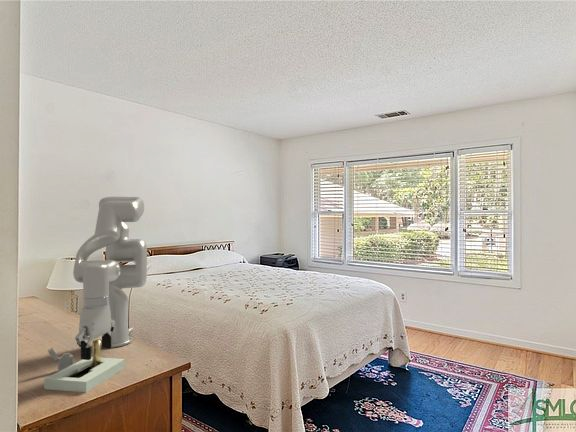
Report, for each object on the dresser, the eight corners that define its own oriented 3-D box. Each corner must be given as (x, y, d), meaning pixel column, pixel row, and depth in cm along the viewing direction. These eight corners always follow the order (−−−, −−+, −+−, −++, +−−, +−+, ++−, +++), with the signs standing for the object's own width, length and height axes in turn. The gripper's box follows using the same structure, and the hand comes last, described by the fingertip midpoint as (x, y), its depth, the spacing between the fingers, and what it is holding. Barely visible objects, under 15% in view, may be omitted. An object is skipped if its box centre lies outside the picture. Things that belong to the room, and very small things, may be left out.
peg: (95, 369, 122) (95, 338, 122) (106, 370, 121) (107, 338, 121) (85, 375, 117) (85, 342, 118) (97, 375, 117) (97, 343, 117)
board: (88, 365, 125) (88, 356, 125) (125, 368, 123) (125, 359, 123) (44, 389, 108) (44, 378, 108) (86, 392, 105) (86, 381, 105)
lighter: (72, 367, 124) (72, 343, 124) (73, 369, 122) (73, 344, 123) (47, 372, 120) (47, 348, 120) (47, 374, 118) (48, 349, 118)
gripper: (103, 295, 129) (104, 343, 129) (65, 307, 112) (66, 363, 112) (123, 296, 128) (123, 344, 128) (87, 308, 111) (87, 365, 111)
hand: (96, 353), depth 120 cm, fingers open, 9 cm apart
